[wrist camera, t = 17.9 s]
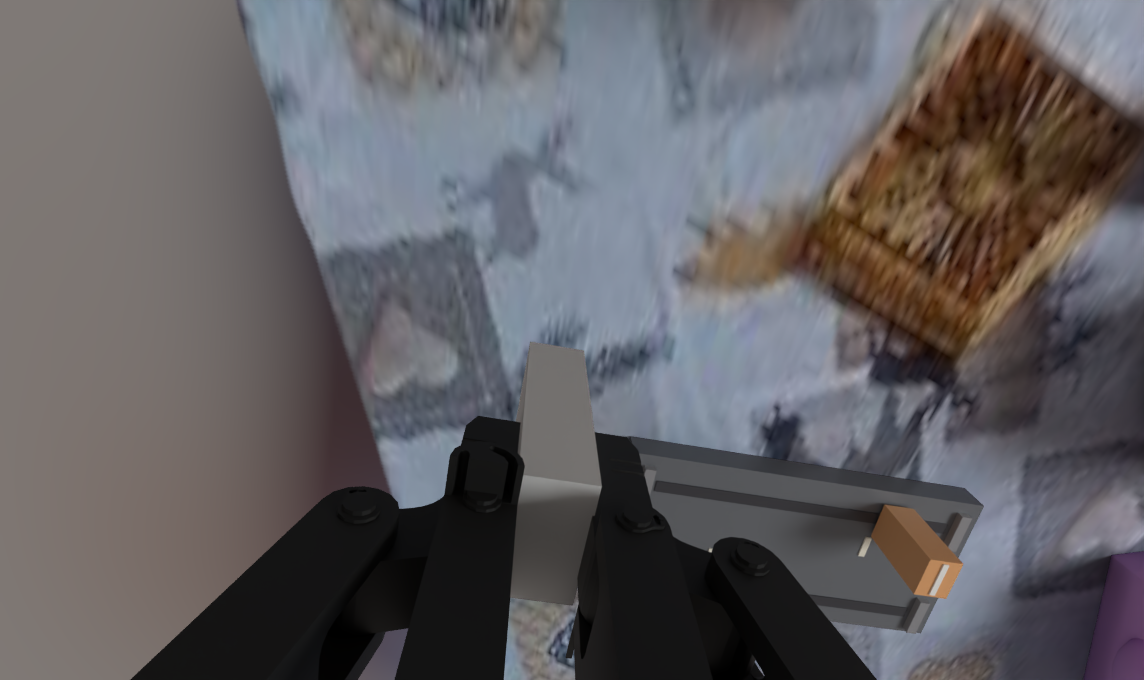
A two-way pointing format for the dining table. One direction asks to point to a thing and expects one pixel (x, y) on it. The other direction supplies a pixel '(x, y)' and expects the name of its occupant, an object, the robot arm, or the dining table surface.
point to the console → (806, 523)
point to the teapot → (1120, 623)
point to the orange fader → (916, 552)
